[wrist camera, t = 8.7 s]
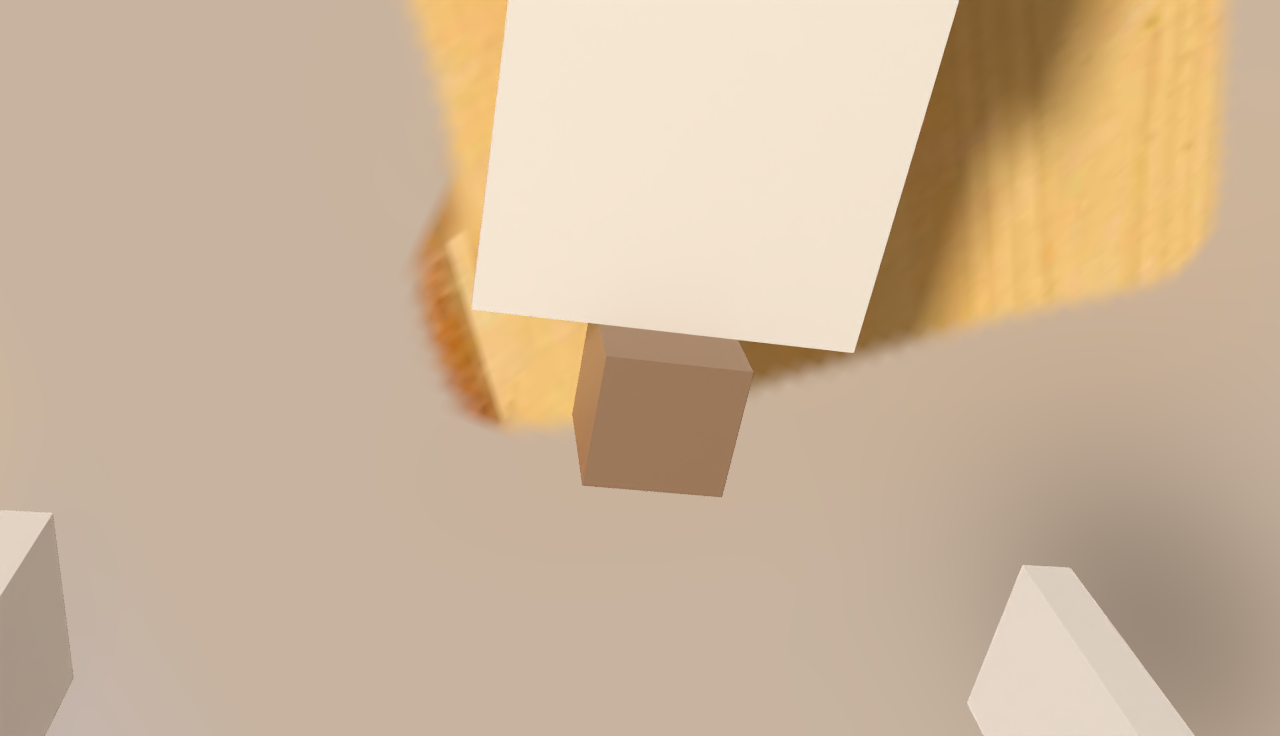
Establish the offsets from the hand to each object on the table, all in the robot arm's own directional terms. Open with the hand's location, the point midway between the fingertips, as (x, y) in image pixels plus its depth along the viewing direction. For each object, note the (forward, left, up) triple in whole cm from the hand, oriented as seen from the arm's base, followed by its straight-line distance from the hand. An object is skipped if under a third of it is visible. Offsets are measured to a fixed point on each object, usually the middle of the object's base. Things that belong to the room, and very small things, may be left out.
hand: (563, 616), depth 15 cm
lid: (-4, +4, -17) cm, 18 cm away
